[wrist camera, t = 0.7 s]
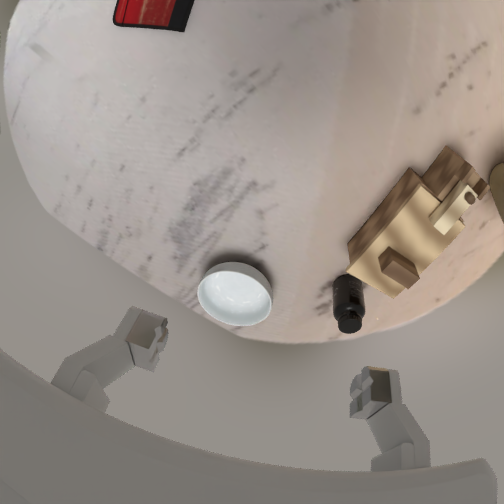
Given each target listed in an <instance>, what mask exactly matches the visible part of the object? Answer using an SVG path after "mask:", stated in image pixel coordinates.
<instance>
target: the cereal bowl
mask: <svg viewBox="0 0 504 504" xmlns="http://www.w3.org/2000/svg"><path fill="white" fill-rule="evenodd" d="M198 299H199V302H200V304H201V306H202V307H203V308H204V310H205V311H206V312H207V313H208V314H210V315H211V316H212V317H214V318H215V319H217V320H219V321H221V322H224V323H227V324H230V325H236V326H250V325H254V324H257V323H259V322H261V321H263V320H264V319H265V318H266V317H267V316H268V315H269V313H270V311H271V308H272V303H273V294H272V289H271V286H270V284H269V282H268V280H267V279H266V278H265V276H264V275H263V274H262V273H261V272H259V271H258V270H257V269H255V268H254V267H252V266H250V265H247V264H244V263H240V262H225V263H221V264H218V265H216V266H214V267H212V268H211V269H209V270H208V271H207V272H206V273H205V275H204V276H203V278H202V279H201V281H200V283H199V286H198Z"/></svg>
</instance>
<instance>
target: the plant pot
mask: <svg viewBox="0 0 504 504" xmlns="http://www.w3.org/2000/svg"><path fill="white" fill-rule="evenodd" d="M489 185H490V189H491V192H492V195H493V198H494V201H495V204H496V206H497V209H498V211H499V214H500V216H501V219H502V221H503V223H504V163H500V164H498V165H497V166H495V168H494V169H493V170H492V172H491V175H490V179H489Z"/></svg>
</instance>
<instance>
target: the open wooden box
mask: <svg viewBox="0 0 504 504" xmlns="http://www.w3.org/2000/svg"><path fill="white" fill-rule="evenodd" d="M460 180H461V181H462V182H463V183H464V184H465V183H467V184H468V185H469V187H470V188H471V189H472V190H473V191H474V192H475V193H476V194H477V195H478V196H477V198H478V199H479V200H481V199H482V198H483V196H484V195H485V194H486V193H487V191H488V190H489V189H490V186H489V185H488V184H487V183H486V182H485V181H484V180H483V179H482V178H481V177H480V176H479V175H478V174H477V173H476V172H475V169H474V168H473V167H472V166H471V165H470V164H469V163H468V162H466V161H465V160H464V159H463V158H461V157H460V156H459V155H458V154H456V153H455V152H454V151H452V150H451V149H450V148H448V147H447V146H445V147H444V149H443V150H442V152H441V153H440V154H439V156H438V157H437V158H436V160H435V161H434V162H433V164H432V165H431V166H430V168H429V169H428V170H427V171H426V173H425V174H424V175H423V177H420V176H419V175H418V174H417V173H416V172H414V171H413V170H412V169H411V168H409V169H408V170H407V171H406V173H405V174H404V175H403V176H402V178H401V179H400V180H399V182H398V183H397V184H396V185H395V187H394V188H393V189H392V191H391V192H390V193H389V194H388V196H387V197H386V198H385V199H384V201H383V202H382V203H381V204H380V205H379V207H378V208H377V209H376V210H375V212H374V213H373V214H372V215H371V216H370V218H369V219H368V220H367V221H366V223H365V224H364V225H363V226H362V227H361V228H360V230H359V231H358V232H357V233H356V234H355V236H354V237H353V238H352V239H351V240H350V241H349V243H348V251H349V259H350V263H351V262H352V261H353V260H354V259H355V258H356V257H357V256H358V255H359V254H360V253H361V251H362V250H363V249H364V248H365V247H366V246H367V245H368V244H369V243H370V241H371V240H372V239H373V238H374V237H375V236H376V235H377V233H378V232H379V231H380V230H381V229H382V228H383V227H384V225H385V224H386V223H387V222H388V221H389V220H390V218H391V217H392V216H393V215H394V214H395V212H396V211H397V210H398V209H399V208H400V206H401V205H402V204H403V203H404V202H405V200H406V199H407V198H408V197H409V196H410V194H411V193H412V192H413V191H414V189H415V188H416V187H417V186H418V184H420V185H421V186H423V187H424V188H425V189H426V190H427V191H429V192H430V193H431V194H432V195H433V196H434V197H435V198H437V199H438V200H439V201H440V202H441V203H442V202H443V201H444V200H445V198H446V197H447V196H448V195H449V194H450V192H451V191H452V190H453V189H454V187H455V186H456V185H457V184H458V182H459V181H460ZM459 220H460V221H461V222H462V223H463V219H462V218H461V217H460V218H459Z"/></svg>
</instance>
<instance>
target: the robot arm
mask: <svg viewBox="0 0 504 504" xmlns="http://www.w3.org/2000/svg"><path fill="white" fill-rule="evenodd" d="M167 323H168V321H167V318H165V317H162V316H159V315H157V314H154V313H151V312H148V311H145V310H143V309H140V308H137V307H134V306H132V307H131V308H129V310H128V311H127V313H126V315H125V316H124V318H123V320H122V321H121V323H120V324H119V326H118V328H117V330H116V331H115V333H114V335H113V336H111V335H109V336H107V337H105V338H103V339H101V340H99V341H97V342H96V343H93V344H91V345H89V346H88V347H86V348H84V349H82V350H80V351H78V352H76V353H74V354H72V355H70V356H69V357H67V358H65V359H64V361H63V363H62V364H61V366H60V368H59V369H58V371H57V373H56V375H55V376H54V378H53V380H52V381H51V383H49V382H47V381H46V380H44V379H43V378H41V377H39V376H38V375H36V374H35V373H33V372H32V371H30V370H29V369H27V368H26V367H25V366H23V365H22V364H20V363H19V362H17V361H16V360H15V359H13V358H12V357H11V356H9V355H8V354H7V353H5V352H4V351H3V350H2V349H0V504H497V478H496V475H495V473H494V471H493V469H492V468H491V466H490V465H489V463H488V462H487V461H486V459H484V458H477V459H472V460H468V461H463V462H458V463H452V464H447V465H441V466H434V467H431V466H430V445H429V440H428V438H427V437H426V435H425V434H424V432H423V431H422V429H421V428H420V426H419V425H418V423H417V422H416V420H415V419H414V417H413V416H412V414H411V413H410V411H409V410H408V408H407V407H406V405H405V404H402V396H401V387H400V378H399V373H398V371H396V370H390V369H385V368H377V367H370V366H366V367H364V368H363V369H362V373H361V374H359V375H356V376H355V378H354V379H353V381H352V383H351V387H350V396H351V397H352V399H353V401H352V402H351V403H350V418H358V419H367V420H366V421H367V423H368V425H369V427H370V429H371V431H372V433H373V435H374V437H375V440H376V442H377V444H378V446H379V448H380V450H381V452H382V454H380V455H378V456H376V457H374V458H373V459H372V460H371V471H370V472H352V471H326V470H313V469H302V468H293V467H285V466H277V465H271V464H265V463H259V462H254V461H249V460H244V459H239V458H234V457H229V456H225V455H222V454H217V453H214V452H210V451H206V450H202V449H199V448H195V447H192V446H188V445H185V444H182V443H179V442H176V441H173V440H170V439H167V438H164V437H161V436H159V435H156V434H153V433H151V432H148V431H145V430H143V429H140V428H138V427H135V426H133V425H130V424H128V423H126V422H123V421H121V420H119V419H117V418H114V417H112V416H110V415H108V414H106V413H105V411H106V409H107V407H108V404H109V402H110V401H109V398H108V397H107V395H106V393H105V392H104V390H103V389H104V388H105V387H106V386H108V385H109V384H111V383H112V382H113V381H115V380H117V379H118V378H120V377H121V376H122V375H124V374H125V373H126V372H128V371H129V370H131V369H132V368H134V367H135V366H137V367H140V368H143V369H146V370H149V371H152V372H154V370H155V368H156V365H157V363H158V361H159V353H160V352H162V351H163V350H164V348H165V345H166V342H167V338H168V329H167V328H166V326H167Z"/></svg>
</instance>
